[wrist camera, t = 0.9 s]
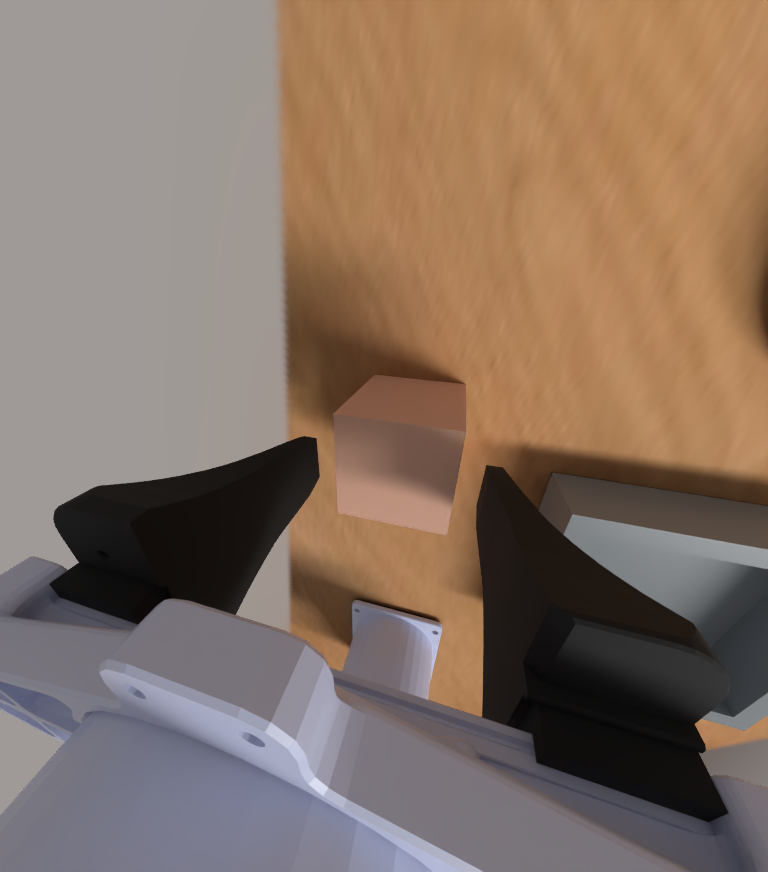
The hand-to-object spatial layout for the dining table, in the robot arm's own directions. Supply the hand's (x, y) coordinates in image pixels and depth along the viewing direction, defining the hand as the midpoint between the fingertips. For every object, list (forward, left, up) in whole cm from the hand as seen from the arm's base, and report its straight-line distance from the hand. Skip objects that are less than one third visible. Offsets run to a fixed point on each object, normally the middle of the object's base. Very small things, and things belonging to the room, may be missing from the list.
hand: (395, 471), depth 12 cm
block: (0, 0, -6) cm, 6 cm away
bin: (-9, -14, -6) cm, 18 cm away
